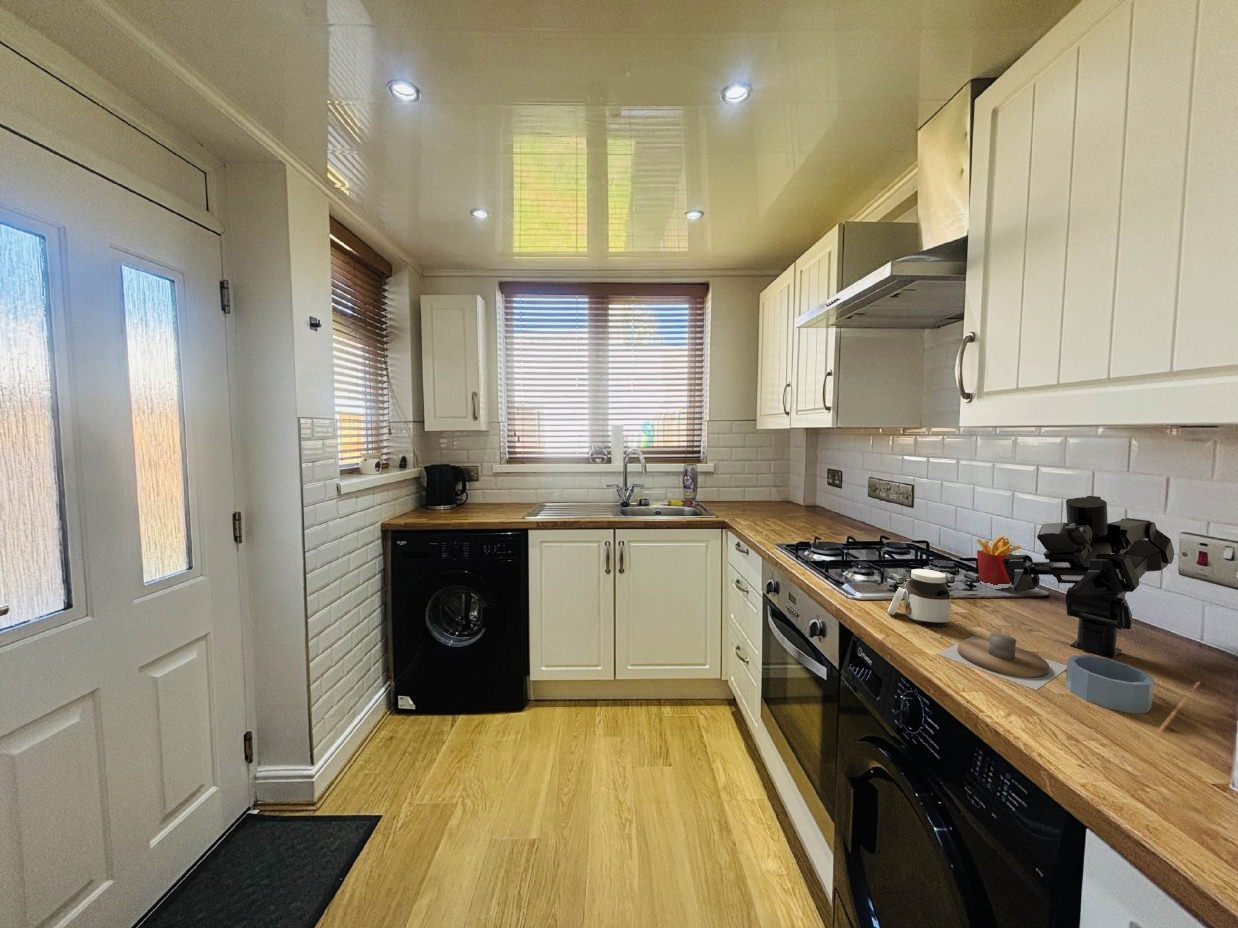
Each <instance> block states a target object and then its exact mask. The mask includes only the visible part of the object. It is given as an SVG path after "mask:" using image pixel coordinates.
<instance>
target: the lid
mask: <svg viewBox="0 0 1238 928" xmlns="http://www.w3.org/2000/svg"><path fill="white" fill-rule="evenodd" d="M964 640H965V641H964ZM964 640H962V641H960V642H959V644H958V643H957V644H958V653H959V655H960V656H961V657H962V658H964V659H965V660H966V661H968V662H970V663H972V664H974V665H976V666H978V667H981V668H983V669H986V670H989V671H992V672H996V673H999V674H1003V675H1008V676H1014V677H1021V678H1041V677H1045V676H1047V675H1048V673H1049V664H1048V663H1047V662H1046V661H1045V660H1044V659H1045V658H1044V659H1043V657H1041V656H1039V655H1038V654H1037V653H1034V652H1032V651H1030V650H1026V649H1024V648H1022V647H1018V646H1016V645H1017V639H1016V638H1015V637H1013V636H1011V635H1008V634H1004V633H995V632H993V633H990V634H989V640H986V639H984V640H966V639H964Z"/></svg>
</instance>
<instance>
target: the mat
mask: <svg viewBox="0 0 1238 928" xmlns="http://www.w3.org/2000/svg"><path fill="white" fill-rule="evenodd" d="M965 640H985V639H984V638H980V637H977V636H974V635H973V636H971V637H968V638H966V639H964V640H963V641H965ZM959 643H960V642H959ZM959 643H956V644H954V645H952V646H949V647H948V648H945V649H943V650H940V651H939V652H936V655H938V656H940V657H943V658H946V659H949V660H952V661H954V662H957V663H960V664H962V665H965V666H967V667H971V668H974V669H977V670H979V671H982V672H985V673H987V674H991V675H993V676H995V677H999V678H1001V679H1003V680H1004V679H1005V680H1007V681H1009V682H1012V683H1015V684H1018V685H1021V686H1024V687H1026V688H1029V689H1031V690H1034V691H1038V690H1039V689H1040V688H1042V687H1043V686H1045V685H1047V683H1049V682H1050V681H1052V680H1054V679H1055V678H1056V677H1057V676H1059V675H1060V674H1062V673H1063V672H1064V671H1065V672H1066V671H1067V664H1063V663H1059V662H1057V661H1053V660H1050V659H1047V658H1045V657H1044V658H1043V657H1042V658H1043V659H1044V660H1045V661H1046V662H1047V663H1048V664H1049V673H1048V675H1047V676H1045V677H1041V678H1021V677H1014V676H1008V675H1003V674H999V673H996V672H992V671H989V670H986V669H983V668H981V667H978V666H976V665H974V664H972V663H970V662H968V661H966V660H965V659H964V658H962V657H961V656H960V655H959V653H958V644H959Z"/></svg>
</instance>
